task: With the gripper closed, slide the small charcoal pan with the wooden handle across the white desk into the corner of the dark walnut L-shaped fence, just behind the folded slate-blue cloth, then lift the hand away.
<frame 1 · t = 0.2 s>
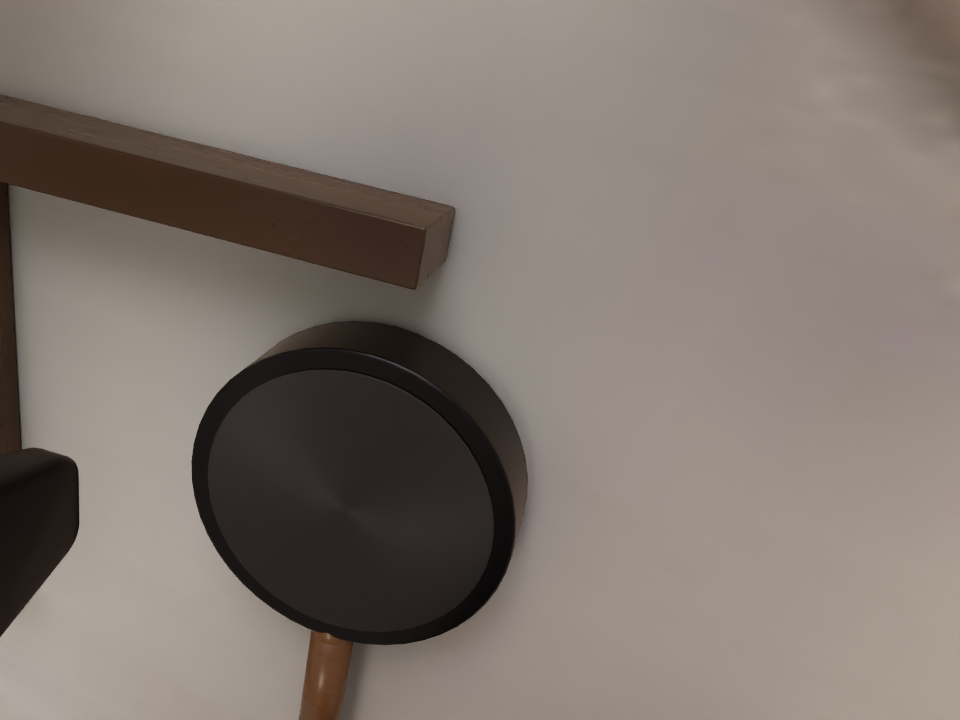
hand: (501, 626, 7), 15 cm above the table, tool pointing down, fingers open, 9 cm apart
corner fence: (178, 377, 25), on the table
pan: (374, 468, 24), on the table
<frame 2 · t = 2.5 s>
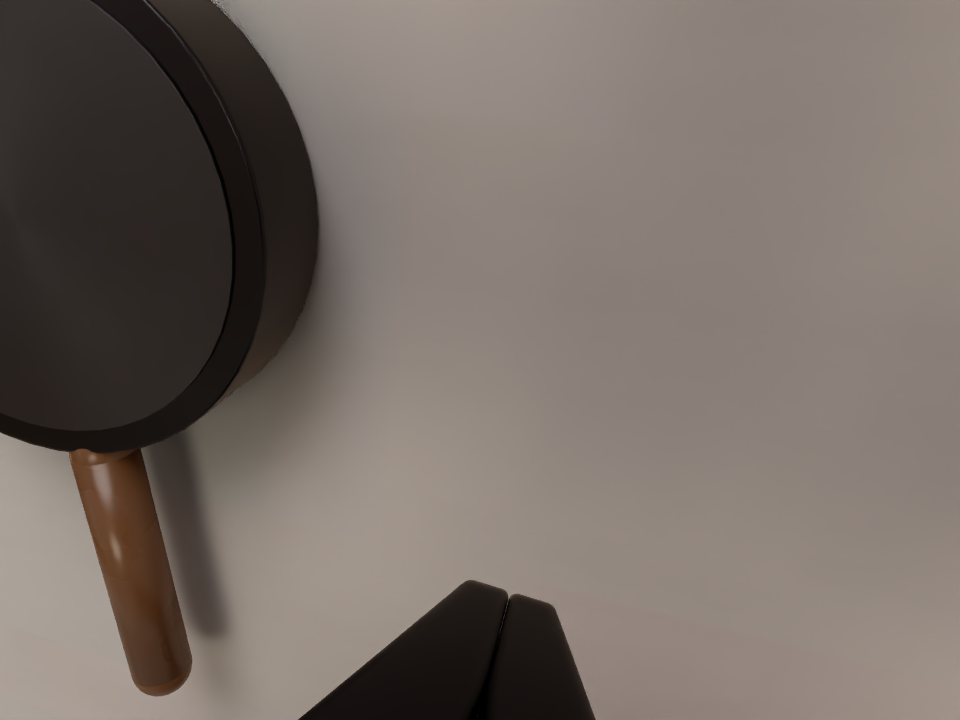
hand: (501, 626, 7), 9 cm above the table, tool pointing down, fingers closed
pan: (103, 199, 16), on the table
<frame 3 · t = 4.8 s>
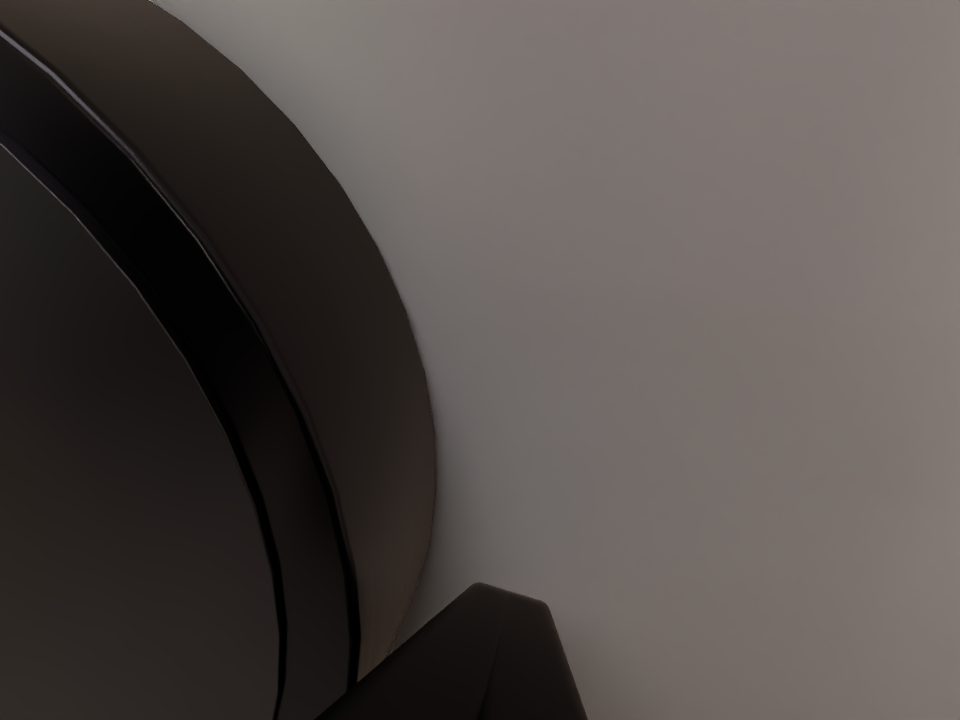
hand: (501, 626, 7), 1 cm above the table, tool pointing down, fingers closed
pan: (20, 417, 9), on the table, touching gripper
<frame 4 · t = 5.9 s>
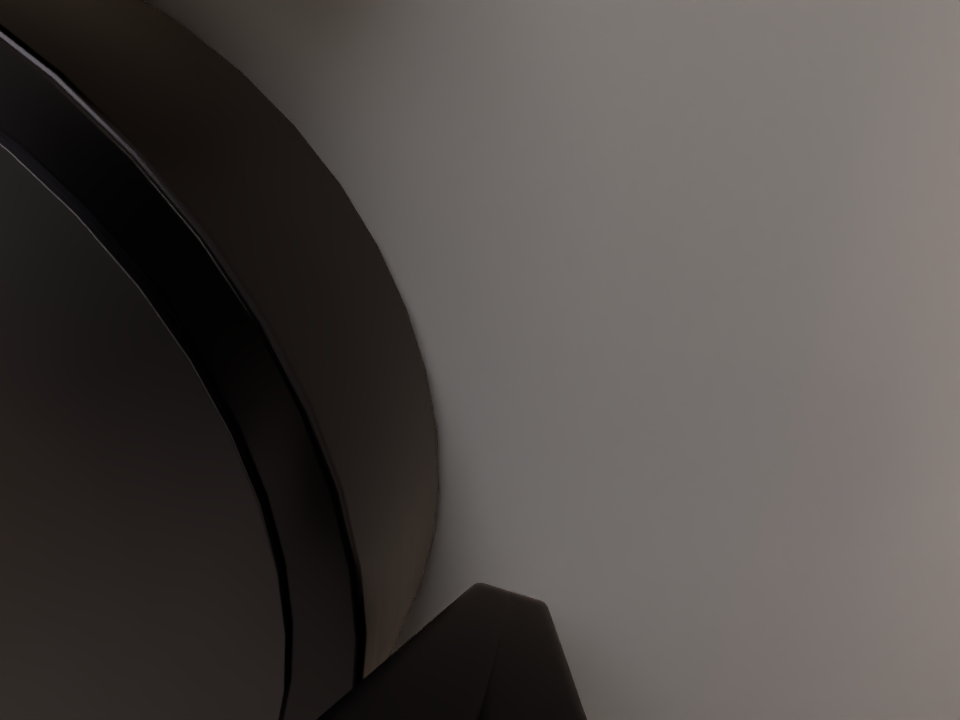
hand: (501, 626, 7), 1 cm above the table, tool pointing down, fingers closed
pan: (22, 420, 9), on the table, touching gripper
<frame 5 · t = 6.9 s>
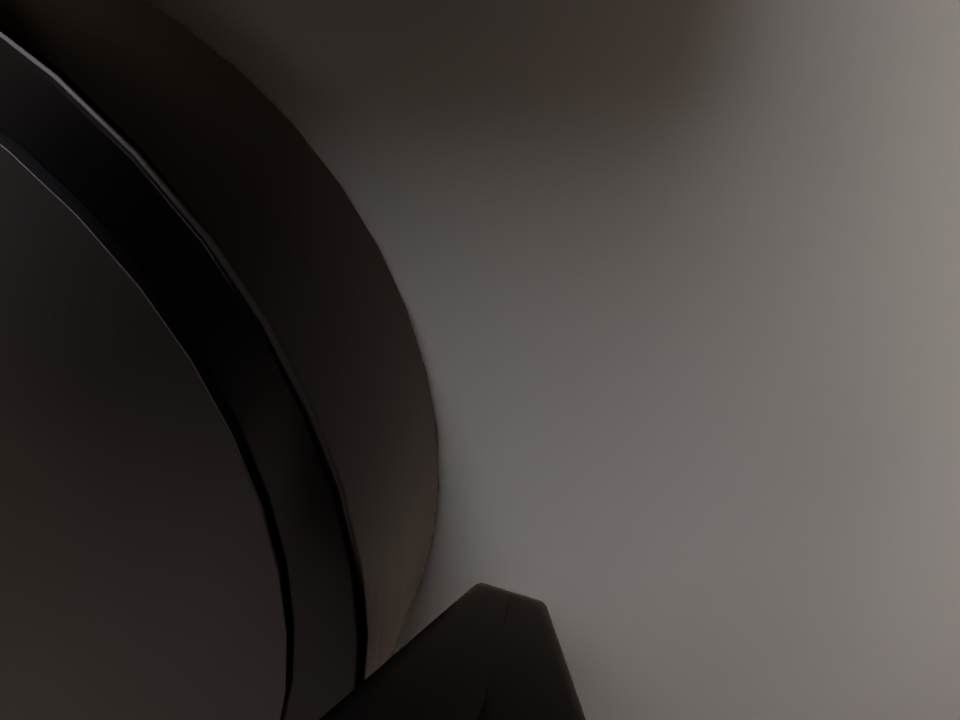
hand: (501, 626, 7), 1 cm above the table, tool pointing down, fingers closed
pan: (21, 421, 9), on the table, touching gripper
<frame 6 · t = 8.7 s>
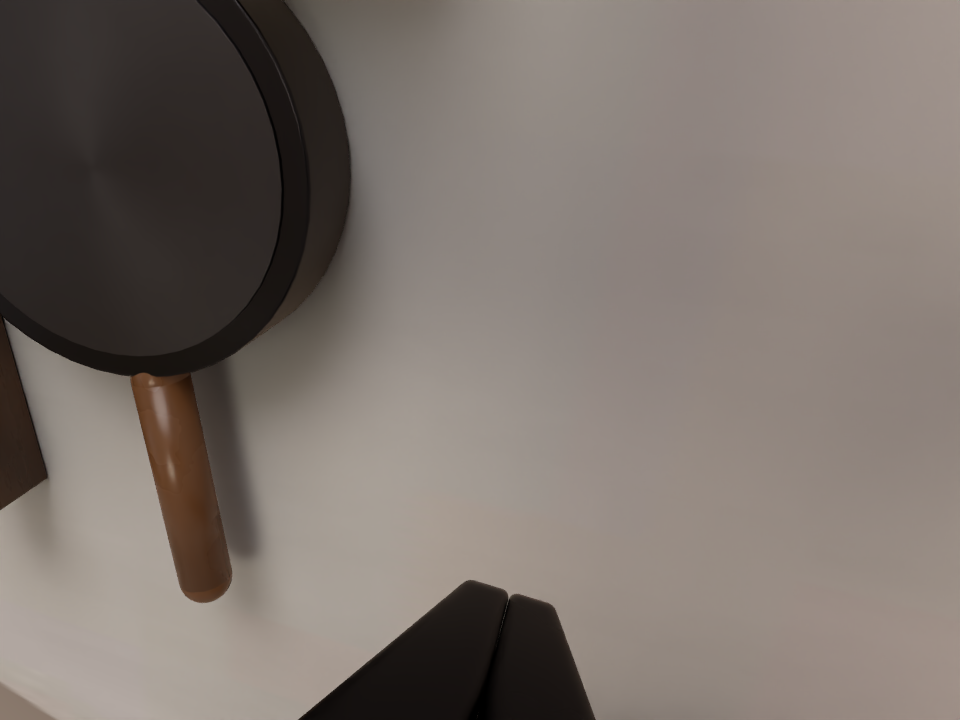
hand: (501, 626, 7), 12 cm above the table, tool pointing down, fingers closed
corner fence: (164, 177, 19), on the table
pan: (160, 155, 19), on the table
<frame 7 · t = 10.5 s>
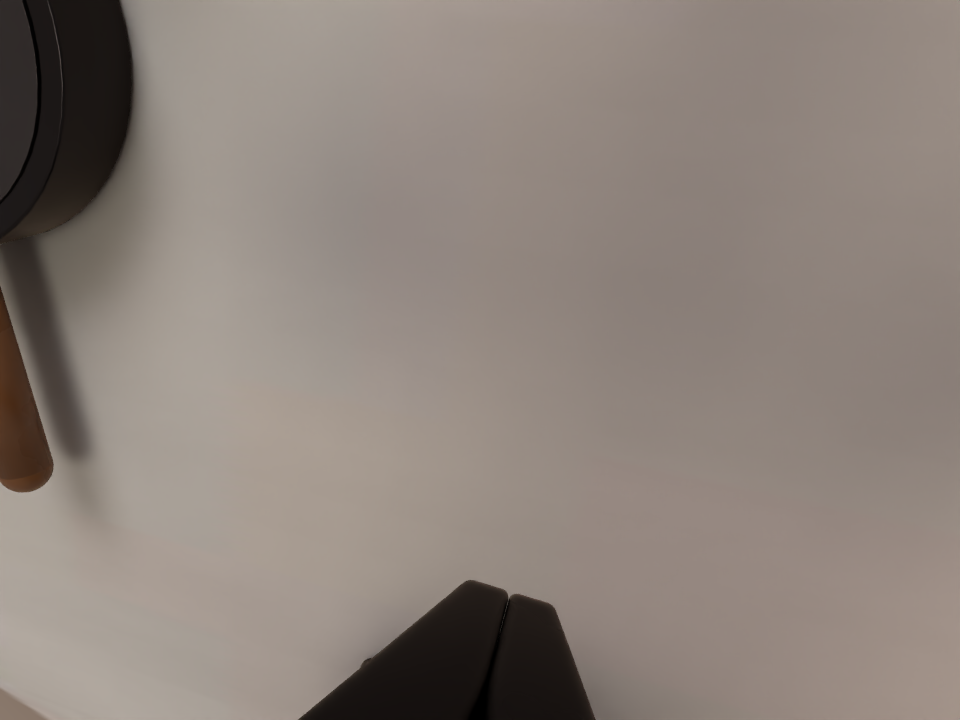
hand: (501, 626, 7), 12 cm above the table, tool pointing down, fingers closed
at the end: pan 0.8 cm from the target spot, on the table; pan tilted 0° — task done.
